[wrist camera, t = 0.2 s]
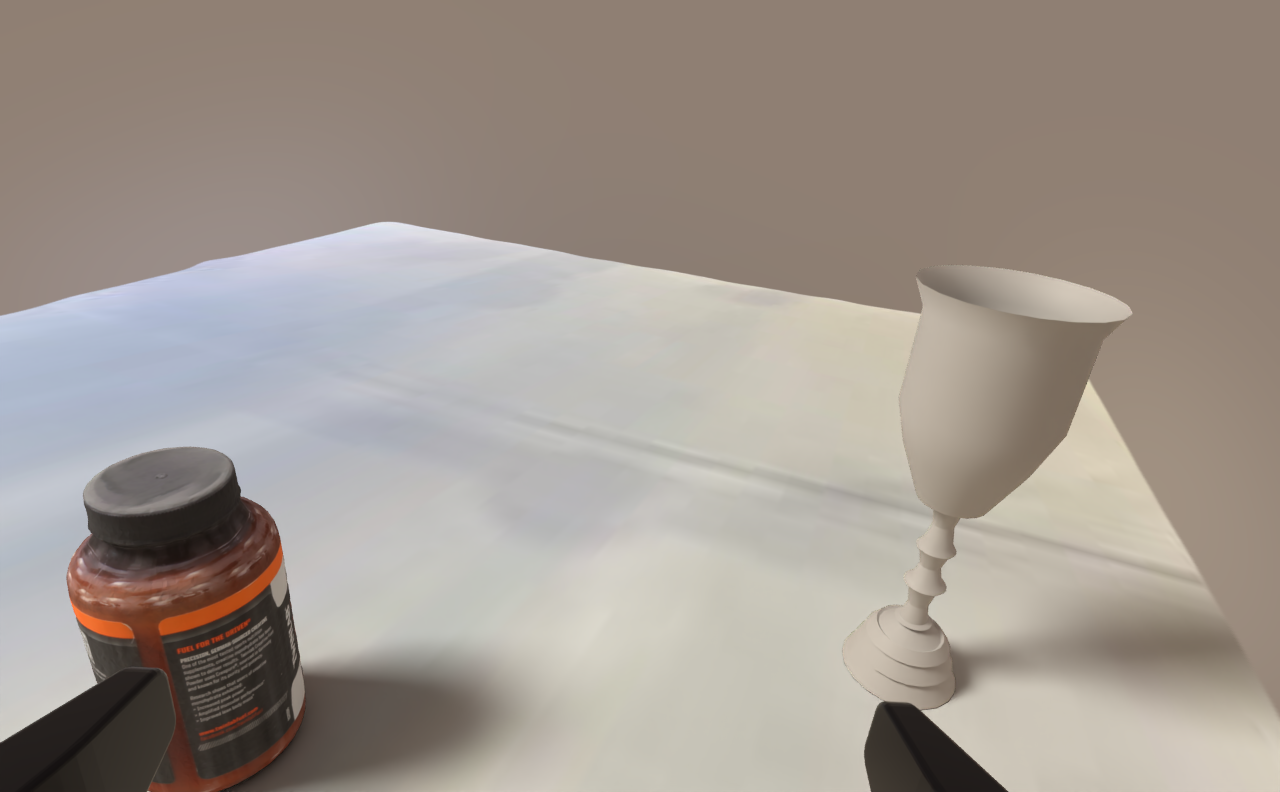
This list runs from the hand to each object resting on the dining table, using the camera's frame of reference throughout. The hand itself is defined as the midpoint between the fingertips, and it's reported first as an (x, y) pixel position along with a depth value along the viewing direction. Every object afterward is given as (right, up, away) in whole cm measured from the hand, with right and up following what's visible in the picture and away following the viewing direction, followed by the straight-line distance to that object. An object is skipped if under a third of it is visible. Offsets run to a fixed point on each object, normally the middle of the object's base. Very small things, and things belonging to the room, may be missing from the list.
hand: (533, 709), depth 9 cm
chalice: (+13, -9, +24) cm, 29 cm away
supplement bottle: (-14, -9, +18) cm, 24 cm away
